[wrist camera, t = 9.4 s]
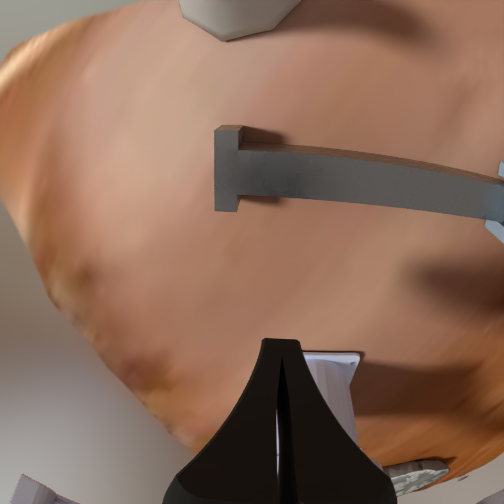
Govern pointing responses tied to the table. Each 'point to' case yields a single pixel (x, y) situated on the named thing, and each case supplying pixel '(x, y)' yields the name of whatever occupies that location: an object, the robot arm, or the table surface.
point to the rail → (347, 178)
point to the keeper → (497, 228)
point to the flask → (236, 15)
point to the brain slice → (415, 474)
